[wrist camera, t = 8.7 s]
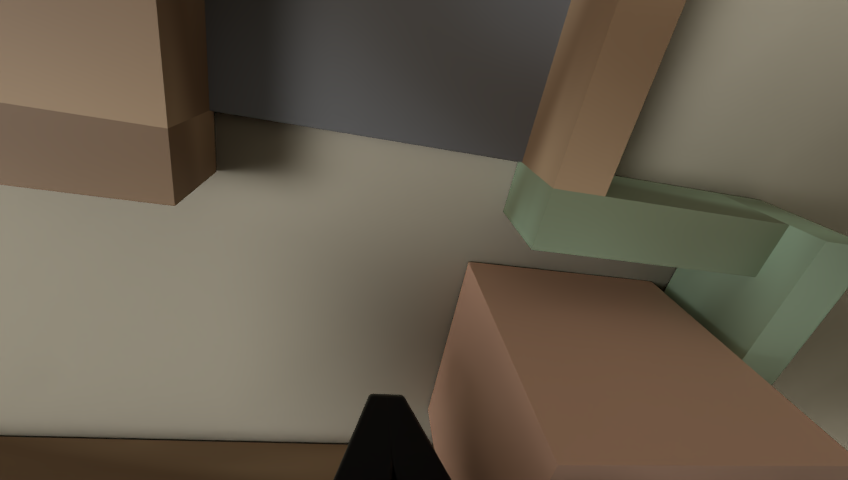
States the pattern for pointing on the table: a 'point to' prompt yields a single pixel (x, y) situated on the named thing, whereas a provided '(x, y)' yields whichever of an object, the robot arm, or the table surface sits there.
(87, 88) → the trap lane
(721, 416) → the block
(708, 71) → the table surface
